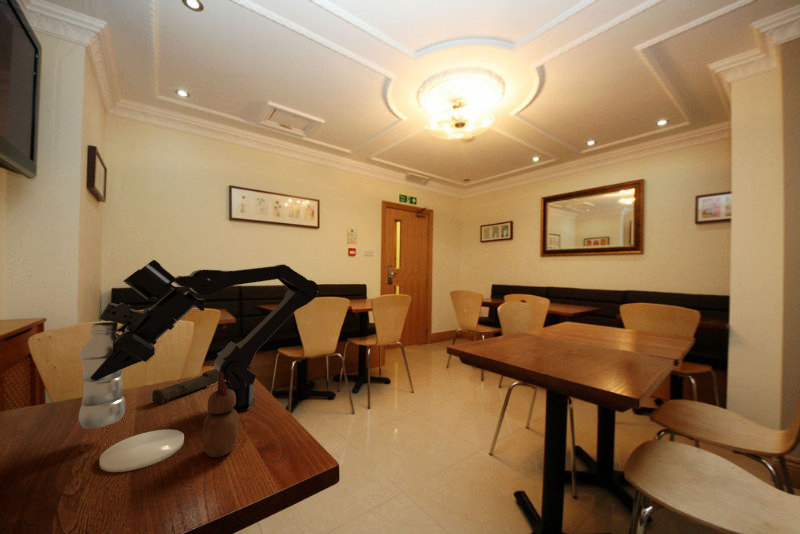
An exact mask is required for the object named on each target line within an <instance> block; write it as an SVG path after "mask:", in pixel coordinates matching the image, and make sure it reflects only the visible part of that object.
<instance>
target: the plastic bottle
mask: <svg viewBox="0 0 800 534" xmlns="http://www.w3.org/2000/svg"><path fill="white" fill-rule="evenodd" d="M118 324H119V323H116V322H112V321H104V322H97V323H92V324H91V328H90V329H91V331H90V335H92V336H91V338H89V340H88V341H87V342H85V344H84V345H83V346H82V347H81V349H80V352H79V358H80V363H81V368H82V375H83V377H82V378H83V392H82V400H81V405H80V409H79V412H78V413H79V414H78V421H79V425H80V426H81V427H82V428H83V429H86V430H92V429H93V430H94V429H99V428H103V427H107V426H110V425H113V424H115V423H117V422H119V421H120V420H121V419H122V418H123V417H124V415H125V414H126V413H125V412H126V407H127V406H126V399H125V397H124V390H123V381H122V380H123V370H124V369H121V370H119V371H117V372H115V373H112V374H110V375H108V376H106V377H103V378H101V379H99V380H97V381H94V380H92V379H91V376H92V375H93V374H94V372H95V371H96V370H97V369H98V368H99V367H100V366H101V364H102V363H103V362H104V361H105V360H106V359H107V358H108V356H109V355H110V354H111V353H112V352H113V340H116V339H117V338H118V336H117V335H116V333H119V332H118V329H117V328H118Z"/></svg>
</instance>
